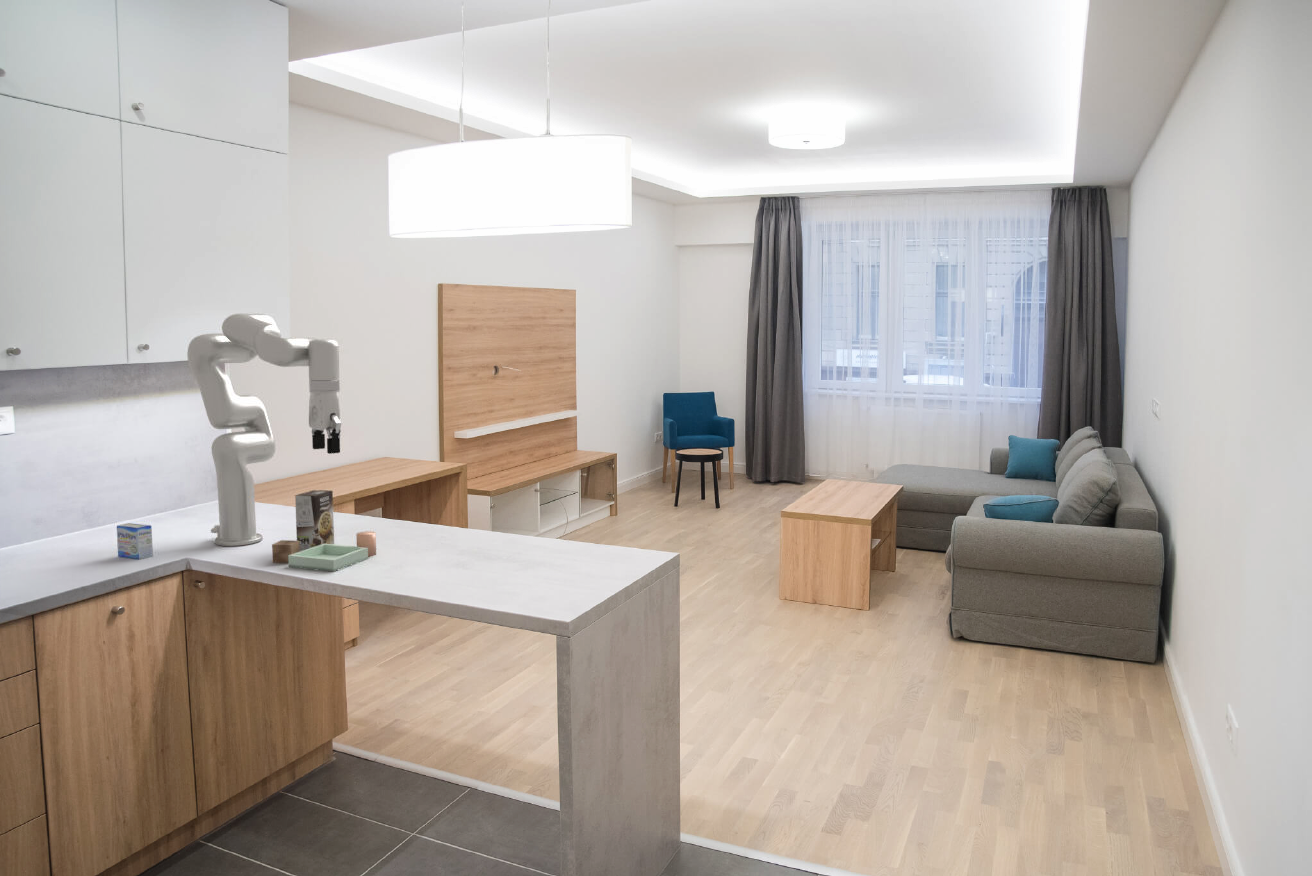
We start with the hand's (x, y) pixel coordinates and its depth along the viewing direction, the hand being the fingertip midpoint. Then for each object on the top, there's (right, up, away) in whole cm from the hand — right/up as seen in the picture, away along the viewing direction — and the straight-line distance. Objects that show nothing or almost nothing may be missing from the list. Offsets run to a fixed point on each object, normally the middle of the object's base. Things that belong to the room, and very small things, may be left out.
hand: (326, 450), depth 240 cm
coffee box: (-7, -28, +13) cm, 32 cm away
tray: (+1, -29, -2) cm, 29 cm away
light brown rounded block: (+9, -29, +7) cm, 31 cm away
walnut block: (-11, -29, 0) cm, 31 cm away
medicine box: (-53, -29, +4) cm, 60 cm away
